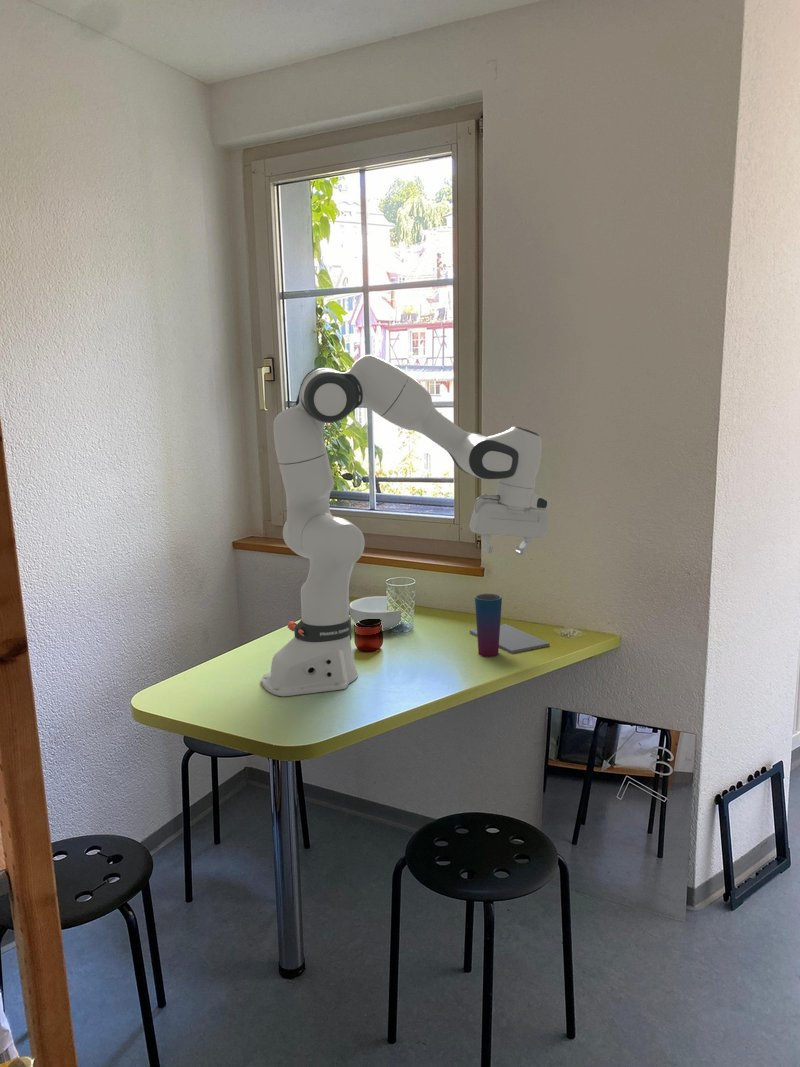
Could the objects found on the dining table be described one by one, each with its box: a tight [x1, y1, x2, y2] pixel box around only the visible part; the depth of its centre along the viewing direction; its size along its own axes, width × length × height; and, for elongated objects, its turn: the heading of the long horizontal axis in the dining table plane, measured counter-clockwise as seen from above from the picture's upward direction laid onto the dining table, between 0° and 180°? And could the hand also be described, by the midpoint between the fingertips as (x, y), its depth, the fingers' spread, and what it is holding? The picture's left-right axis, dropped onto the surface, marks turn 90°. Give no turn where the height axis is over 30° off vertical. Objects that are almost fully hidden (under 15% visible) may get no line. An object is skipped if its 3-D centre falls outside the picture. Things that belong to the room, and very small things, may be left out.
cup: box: [474, 592, 503, 658], centre depth 202 cm, size 7×7×15 cm
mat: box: [469, 623, 551, 654], centre depth 215 cm, size 12×20×1 cm, turn 27°
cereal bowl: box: [349, 595, 401, 632], centre depth 228 cm, size 17×17×7 cm
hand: (503, 553), depth 191 cm, fingers open, 8 cm apart
